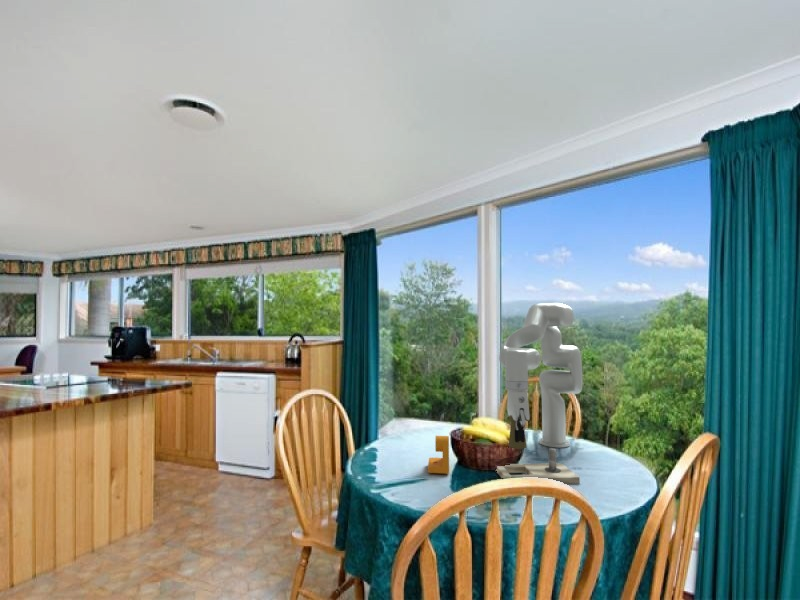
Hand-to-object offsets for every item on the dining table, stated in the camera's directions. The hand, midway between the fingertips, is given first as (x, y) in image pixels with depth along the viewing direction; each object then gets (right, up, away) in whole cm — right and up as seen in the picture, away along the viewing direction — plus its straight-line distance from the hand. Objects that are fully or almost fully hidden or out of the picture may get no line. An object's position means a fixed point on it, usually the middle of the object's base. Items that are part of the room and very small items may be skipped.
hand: (517, 439), depth 146 cm
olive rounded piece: (0, -2, 0) cm, 2 cm away
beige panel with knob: (+6, -12, 0) cm, 14 cm away
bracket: (-26, -13, +6) cm, 30 cm away
